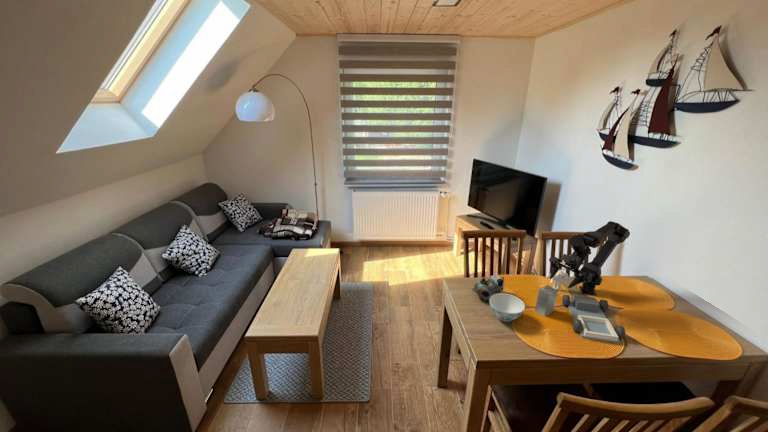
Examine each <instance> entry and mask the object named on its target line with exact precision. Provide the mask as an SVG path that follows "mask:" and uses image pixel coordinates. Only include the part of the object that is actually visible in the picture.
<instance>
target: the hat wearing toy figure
mask: <svg viewBox="0 0 768 432" xmlns="http://www.w3.org/2000/svg"><path fill="white" fill-rule="evenodd" d="M565 270H566V268H562V269H559V271H558V272H557V273H556V274H555V276H554V277H553V278H552V279H550V282H549V283H550V284H553V286H552V288H554V289H556V290H558V291H562V289H561V287H562V280H563V284H564V285H565V286H566V285H567V279H568V278H569V273H567V272H564V271H565ZM550 275H551V273H549V276H550ZM554 280H555V281H554Z"/></svg>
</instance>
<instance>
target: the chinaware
mask: <svg viewBox="0 0 768 432" xmlns="http://www.w3.org/2000/svg"><path fill="white" fill-rule="evenodd" d="M489 305H490V308H491V311H492V313H493V314H494V315H495V316H496V317H497V319H499V320H500V321H502V322H504V323H507V322H511V321H514V320H516V319H519V318H520V317H521V316H522V315H523V313H524V311H525V309H526V305H525V303H524V301H523V300H522V299H520V298H519V297H517V296H515V295H513V294H509V293H504V292H503V293H501V292H500V293H498V294H494V295H492V296H491V297H490V302H489Z"/></svg>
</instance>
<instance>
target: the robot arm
mask: <svg viewBox="0 0 768 432" xmlns="http://www.w3.org/2000/svg"><path fill="white" fill-rule="evenodd" d="M630 235H631V232H630V230H629V229H628V228H625V227H624V226H623V225H622V224H620V223H619V222H615V221H612V220H611V221H608V222H607V223H606V224H604V225H603V226H601V227H600V228H598V229H596V230H594V231H592V230H591V231H586V232H585V233H583V234H581V233H578V234H577V235H574V236H572V237H570V238H569V241H568V243H569V245H570V247H571V248H572V251H573V252H572V253H568V254H569V255H568V254H566V253H563V254H562V257H561V258H558V257H556V256H553V255H552V256H550V258H549V259H548V261H549V263H550V264H551V271H550V274H551V275H550V274H549V279H550V280H551V279H552V278H553V277H554V276H555V274H556V273H557V272H558V271H559V270H560V268H562V269H564V268H565V270H567V271H569V272H573V274H575V277H574V279H572V281H571V282H570V283H569V285H568V287H567V288H568V289H571V288H573V287H575V286H578V285H579V284H582V285H579V286H578V288H579V291H580V292H581V294H584V295H592V296H593V295H594V296H597V293H596V291H595V290H596V286H601V284H602V282H603V278H602V276H601V275H602V268H603V265H604V264H605V263H606V261H607V260H608V258H609V257H610V255H611V254H612V253H613V252H614V249H615V248H616V247H617V246H618V245H620V244H623V243H625V241H626V240H627V239H629V237H630ZM606 238H607V239H606ZM604 239H606V240H605V242H604V244H603V245H602V247H601V248H599V249H600V250H598V252H597V253H596V255H595V256H594V258H593V259H592V261H590V262H589V261H587V262H585V260H586V259H587V257H588V256H589V255H591V254H592V251H591V250H592V249H597V248H598V247H600V245H601V244H602V241H603V240H604ZM591 248H592V249H591ZM562 261H563V262H562ZM584 262H585V263H584ZM582 265H583V266H582ZM581 266H582V267H581ZM580 267H581V268H580Z"/></svg>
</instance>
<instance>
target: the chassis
mask: <svg viewBox="0 0 768 432" xmlns="http://www.w3.org/2000/svg"><path fill="white" fill-rule="evenodd" d="M561 301H562V303H561V304H562V305H563V306H567V307H568V309H569V311H570V314H571V316H572V319H573V320H572V329H573V331H574V332H578V333H579V335H580V337H581V338H582V339H589V340H594V341H595V340H596V341H600V342H606V343H614V344H621V341H620V339H624V338H625V337H626V328H625V327H624V326H623V325H618V324H615V326H614V327H613V325H612V323H611V322H610V320H609V318H607V316H606V315H605V314H604V313H605V312H607V311H608V309H609V301H608V300H607V299H599V301H598V299H597V298H596V297H591V296H585V295H576V294H574V295H573V299H571V297H570V295H569V294H563V295H562V299H561Z"/></svg>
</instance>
